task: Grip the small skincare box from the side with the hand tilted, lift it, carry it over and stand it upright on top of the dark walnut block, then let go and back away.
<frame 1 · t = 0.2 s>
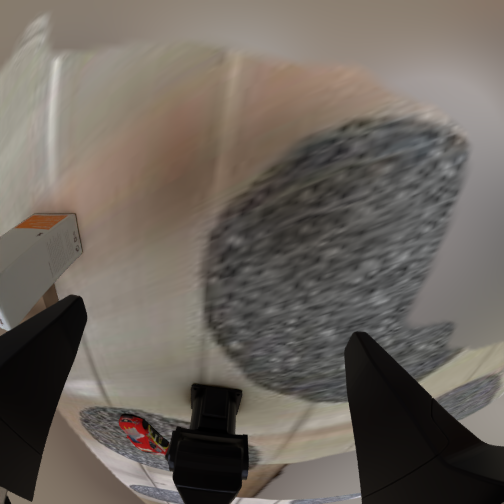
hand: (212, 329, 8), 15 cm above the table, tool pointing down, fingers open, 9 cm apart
race car: (146, 428, 42), on the table
walnut block: (33, 295, 27), on the table
skincare box: (57, 231, 23), on the table
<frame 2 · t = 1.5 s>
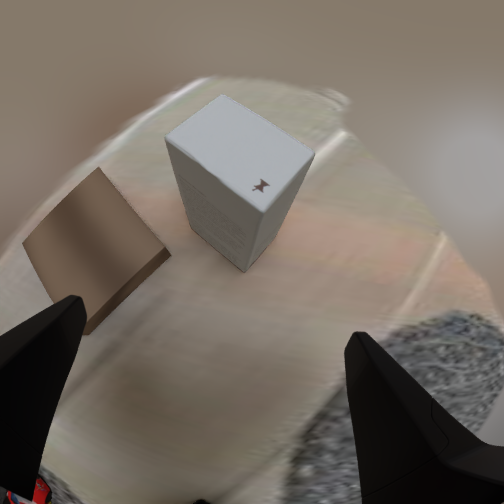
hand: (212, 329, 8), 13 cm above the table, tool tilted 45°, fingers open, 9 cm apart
race car: (36, 501, 14), on the table
walnut block: (96, 254, 22), on the table
skincare box: (232, 232, 24), on the table
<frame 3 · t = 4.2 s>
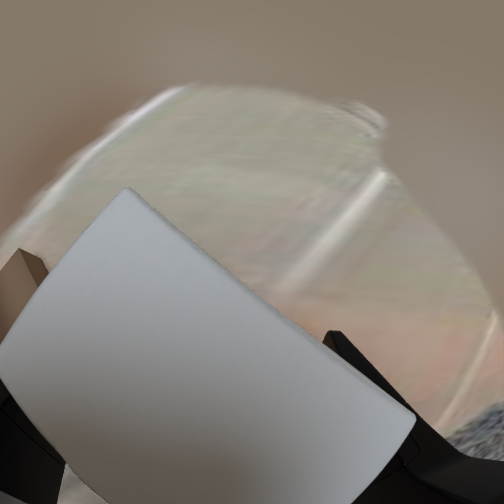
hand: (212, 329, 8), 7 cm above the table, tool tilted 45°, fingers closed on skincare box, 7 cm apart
walnut block: (38, 365, 13), on the table
skincare box: (215, 354, 15), on the table, touching gripper
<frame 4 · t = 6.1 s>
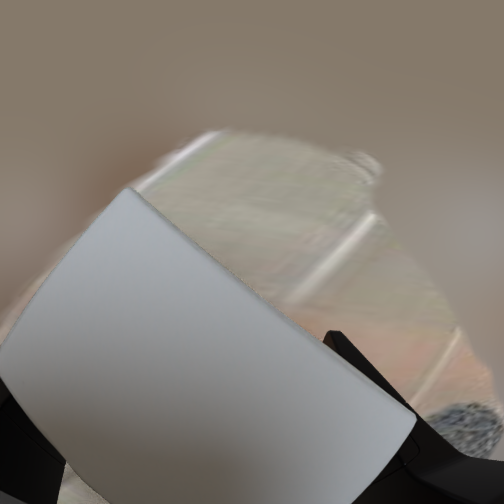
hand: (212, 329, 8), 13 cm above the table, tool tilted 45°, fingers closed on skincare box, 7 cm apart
skincare box: (216, 353, 15), point 6 cm above the table, touching gripper
when the fingers open (11 cm above the table, at t = 8.1 s): skincare box drops 2 cm, resting on walnut block.
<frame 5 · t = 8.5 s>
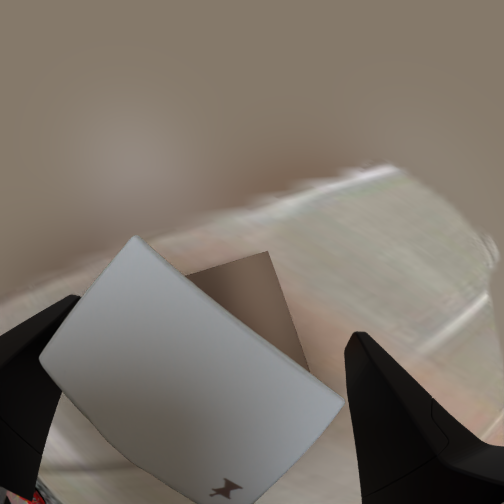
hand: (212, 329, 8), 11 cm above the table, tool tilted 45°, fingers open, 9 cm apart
walnut block: (218, 347, 19), on the table, touching skincare box
skincare box: (214, 349, 17), point 2 cm above the table, touching walnut block
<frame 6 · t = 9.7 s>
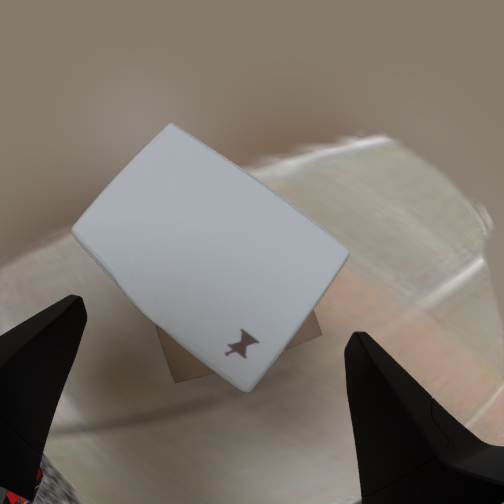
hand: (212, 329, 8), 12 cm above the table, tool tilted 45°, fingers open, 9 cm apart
race car: (20, 479, 13), on the table
walnut block: (225, 292, 21), on the table, touching skincare box
skincare box: (225, 286, 18), point 2 cm above the table, touching walnut block
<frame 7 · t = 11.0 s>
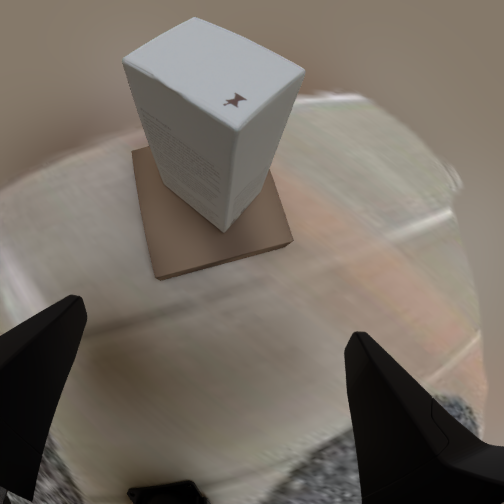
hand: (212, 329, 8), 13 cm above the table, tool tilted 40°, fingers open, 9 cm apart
walnut block: (206, 205, 23), on the table
skincare box: (210, 187, 20), point 2 cm above the table
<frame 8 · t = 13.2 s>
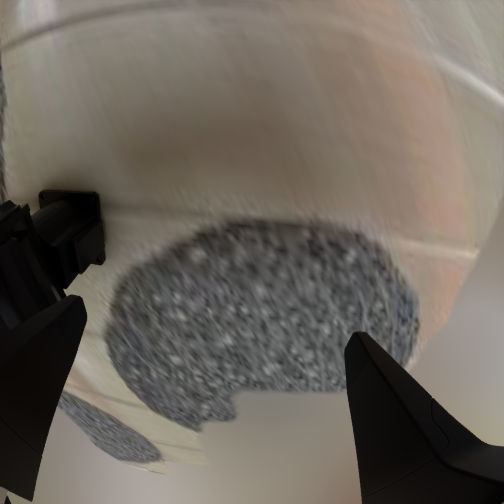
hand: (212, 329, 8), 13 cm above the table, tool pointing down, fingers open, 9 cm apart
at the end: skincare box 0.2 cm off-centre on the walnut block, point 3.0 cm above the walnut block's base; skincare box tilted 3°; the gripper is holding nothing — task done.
